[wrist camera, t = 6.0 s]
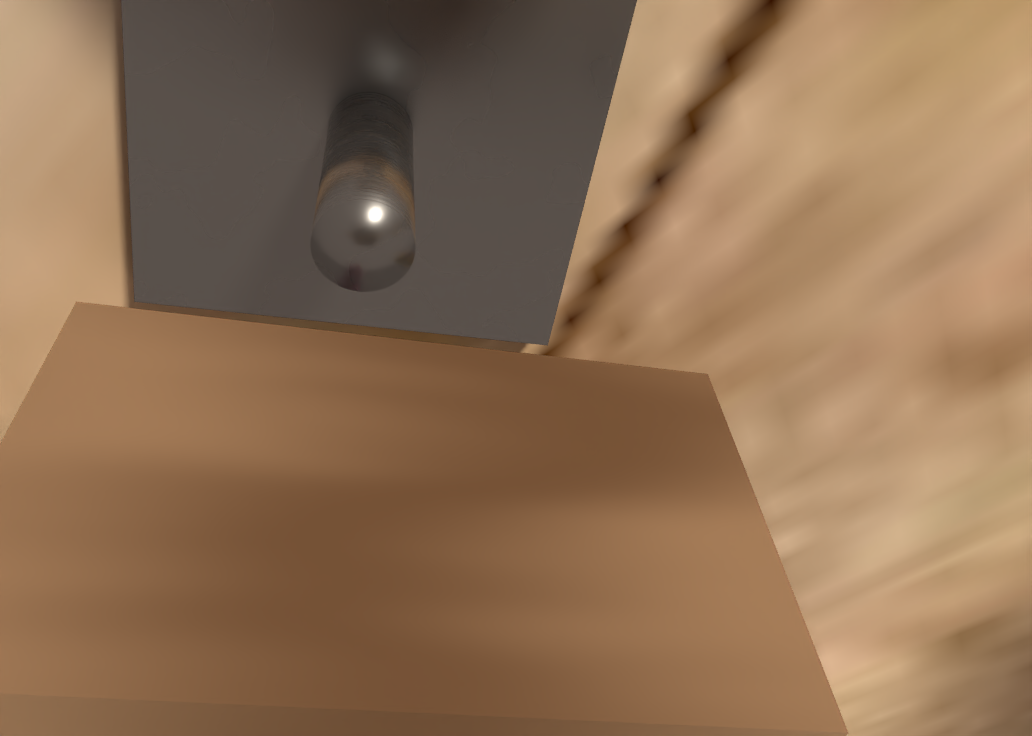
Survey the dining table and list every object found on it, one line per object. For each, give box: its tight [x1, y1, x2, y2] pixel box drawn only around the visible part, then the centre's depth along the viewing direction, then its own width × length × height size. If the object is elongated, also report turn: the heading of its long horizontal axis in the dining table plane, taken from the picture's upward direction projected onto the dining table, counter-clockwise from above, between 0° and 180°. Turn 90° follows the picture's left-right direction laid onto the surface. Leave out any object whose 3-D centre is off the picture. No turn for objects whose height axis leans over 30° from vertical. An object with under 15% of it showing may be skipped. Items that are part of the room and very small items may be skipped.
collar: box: [0, 302, 848, 736], centre depth 9 cm, size 6×6×4 cm
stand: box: [121, 0, 637, 345], centre depth 19 cm, size 10×10×6 cm
